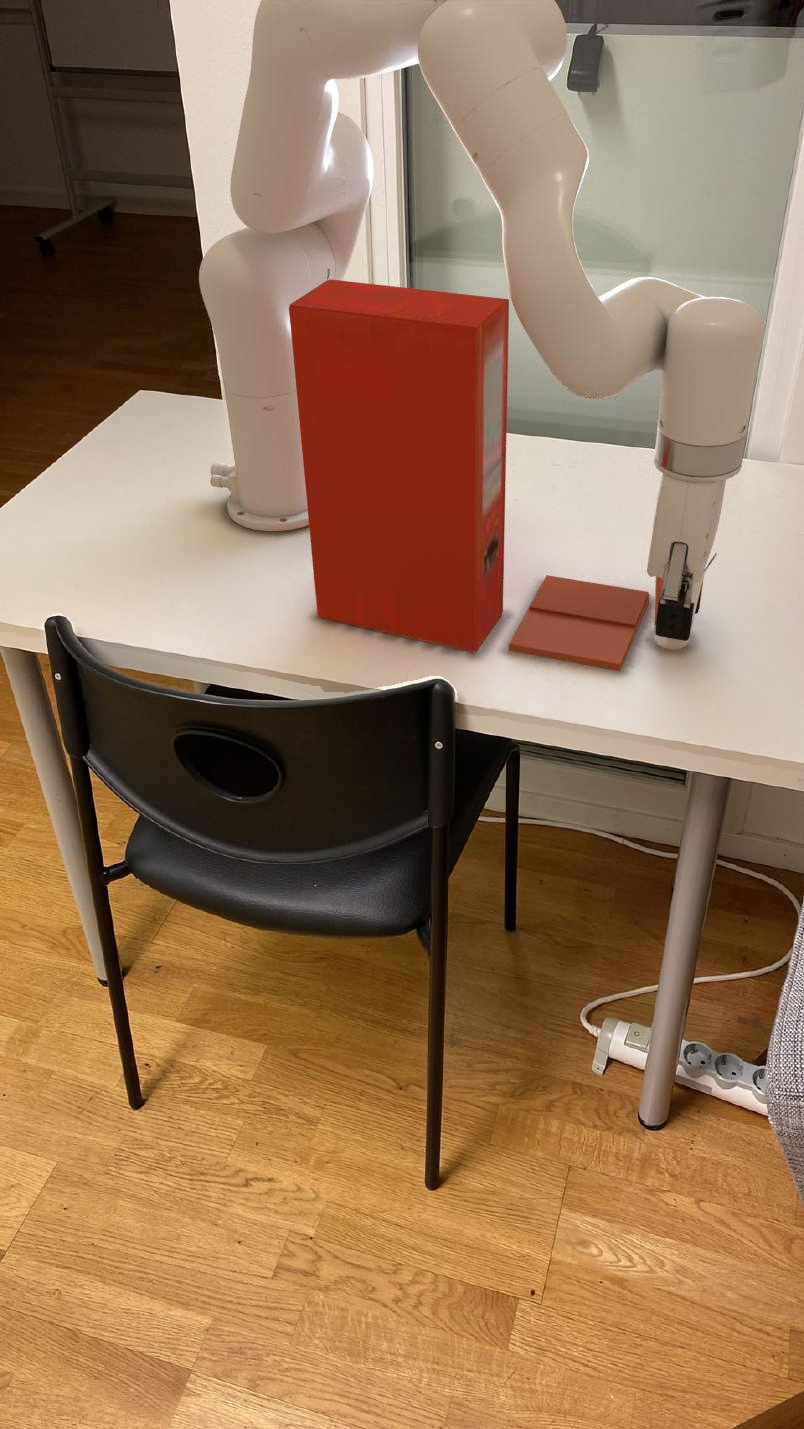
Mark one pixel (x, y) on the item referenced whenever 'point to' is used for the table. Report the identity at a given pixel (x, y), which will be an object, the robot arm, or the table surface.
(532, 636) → the cloth
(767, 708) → the table surface
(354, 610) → the file binder
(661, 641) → the milkshake
